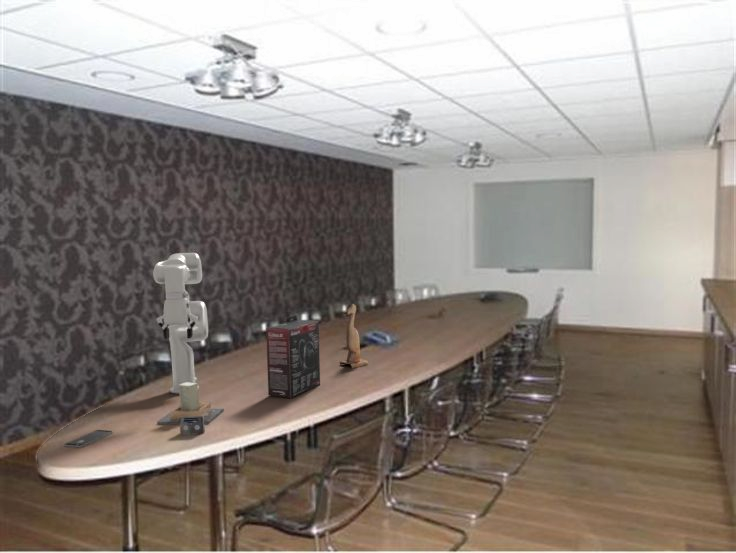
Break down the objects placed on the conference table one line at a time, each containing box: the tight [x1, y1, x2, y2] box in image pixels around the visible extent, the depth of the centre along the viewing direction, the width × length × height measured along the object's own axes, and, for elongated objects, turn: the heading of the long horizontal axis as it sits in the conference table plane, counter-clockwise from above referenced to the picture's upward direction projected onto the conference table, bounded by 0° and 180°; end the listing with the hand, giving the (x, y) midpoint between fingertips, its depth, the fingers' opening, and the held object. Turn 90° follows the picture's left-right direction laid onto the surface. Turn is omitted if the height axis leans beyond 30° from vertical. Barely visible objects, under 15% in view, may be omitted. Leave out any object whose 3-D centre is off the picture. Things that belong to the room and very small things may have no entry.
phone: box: [64, 429, 114, 449], centre depth 214 cm, size 8×1×16 cm
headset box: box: [265, 315, 321, 399], centre depth 267 cm, size 24×13×33 cm, turn 154°
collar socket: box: [156, 402, 225, 425], centre depth 235 cm, size 16×20×4 cm
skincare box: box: [179, 382, 200, 411], centre depth 234 cm, size 6×4×12 cm
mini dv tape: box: [179, 416, 206, 435], centre depth 216 cm, size 8×2×6 cm, turn 88°
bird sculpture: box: [339, 303, 369, 369], centre depth 313 cm, size 11×12×32 cm
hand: (178, 338), depth 249 cm, fingers open, 9 cm apart
